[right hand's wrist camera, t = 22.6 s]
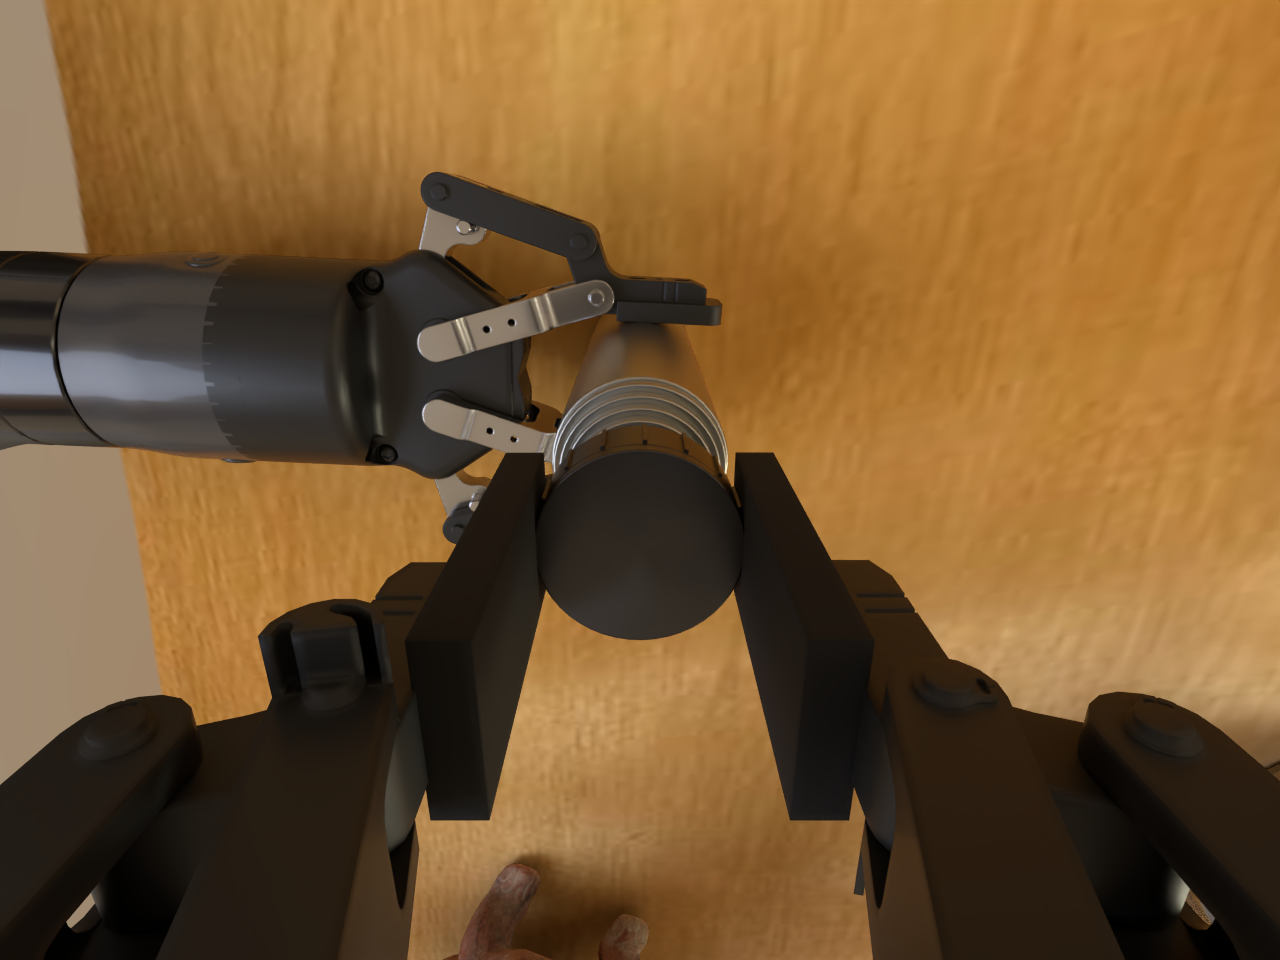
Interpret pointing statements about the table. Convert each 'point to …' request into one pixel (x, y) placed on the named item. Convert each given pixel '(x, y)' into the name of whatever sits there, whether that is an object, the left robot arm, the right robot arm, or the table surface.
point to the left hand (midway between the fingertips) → (711, 380)
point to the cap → (639, 533)
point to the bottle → (639, 388)
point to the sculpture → (506, 905)
